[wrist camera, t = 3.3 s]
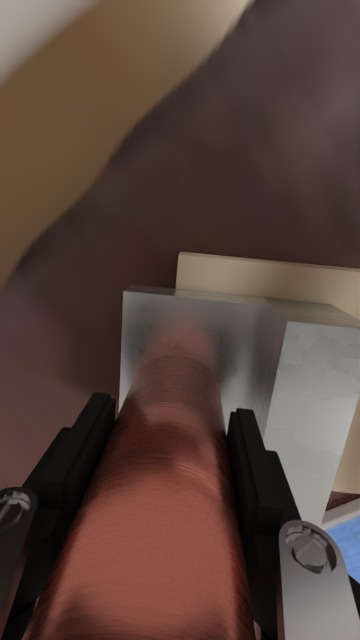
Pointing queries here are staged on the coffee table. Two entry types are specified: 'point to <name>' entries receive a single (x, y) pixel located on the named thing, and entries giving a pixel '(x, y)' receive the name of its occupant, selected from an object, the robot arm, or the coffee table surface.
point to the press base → (288, 284)
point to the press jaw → (198, 461)
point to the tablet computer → (346, 534)
